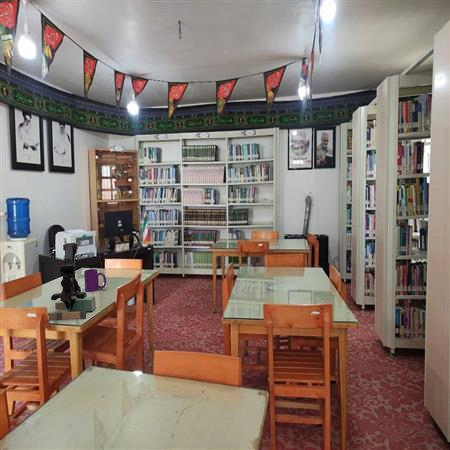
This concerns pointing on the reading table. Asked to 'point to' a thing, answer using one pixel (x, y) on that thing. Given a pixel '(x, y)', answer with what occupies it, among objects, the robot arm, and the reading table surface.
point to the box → (83, 304)
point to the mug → (93, 280)
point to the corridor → (66, 313)
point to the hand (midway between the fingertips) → (69, 310)
